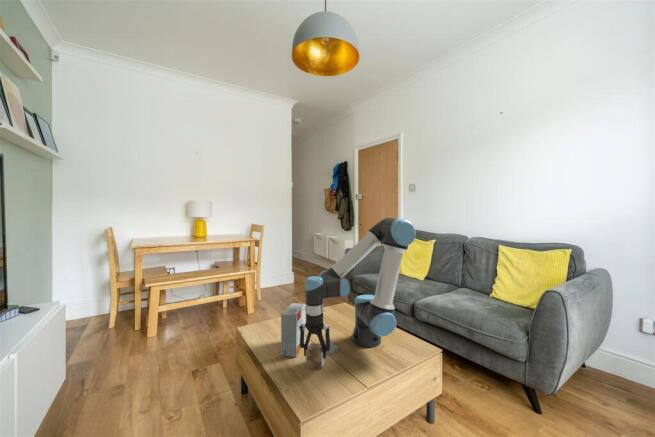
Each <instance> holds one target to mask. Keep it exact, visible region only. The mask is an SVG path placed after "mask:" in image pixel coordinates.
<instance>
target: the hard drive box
mask: <svg viewBox="0 0 655 437" xmlns="http://www.w3.org/2000/svg"><path fill="white" fill-rule="evenodd" d="M280 322H281V324H280V330H281V331H280V355H281V356H282V357H290V358H291V357H293V358H297V356H298V355H299V353H300V352H301V350H302V348H300V328H299V327H300V325H301V324H306V303H298V302H297V303H296V302H291V303H290V304H289V306H288V307H286V309H285V310H284V311H283V312H282V313H281V314H280ZM305 342H306V333H305V334H304V343H305Z"/></svg>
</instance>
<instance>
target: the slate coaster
mask: <svg viewBox="0 0 655 437" xmlns="http://www.w3.org/2000/svg"><path fill="white" fill-rule="evenodd" d="M325 345H326V343H325ZM337 352H339V347H338V346H337V344H334V343H331V342H330V350H329V351H326V355H333V354H336V353H337Z"/></svg>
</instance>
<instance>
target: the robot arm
mask: <svg viewBox="0 0 655 437" xmlns="http://www.w3.org/2000/svg"><path fill="white" fill-rule="evenodd" d="M416 234H417V232H416V229H415V226H414V224H413V223H412V222H411V221H409V220H406V219H404V218H393V217H386V218H383V219H381V220H379V221H378V222H376V223H375V224H374V225H373V226H372V227H371V228H370V229H368V230H367V231H366V235H365V236H363V238H361V239H360V241H358V242H357V243H356V244H354V245H353V247H351V249H350V250H348V252H346V253H344V255H343V256H342V257H341V258H340V259H338V260H337V261H336V262H335V263H334V264H333V265H331V267H330V268H329V269H327V270H322V271H321V272H320V273H319V275H312V276H309V277H307V278H306V279H305V284H304V286H305V288H304V289H305V324H301V325H300V327H299V328H300V348H301V349H303V356H304V357H305V361H306V362H305V363H306V364H305V365H306V366H307V356H306V350H307V348H308V346H309V345H310V344H309V343H310V339H311V336H312V335H315V336H317V338H318V340H319V344H320V345H321V348H322V351H321V368H323V367H324V365H325V359H326V357H327V354H326V351H329V350H330V343H331V339H330V336H331V335H330V330H331V326H328V325H327V326H326V325H325V323H324V299H331V298H342V297H347V296H349V294H350V292H351V291H350V290H351V287H350V286H351V285H350V283H349V281H348V279H347V278H344V277H345V276H346V275H347V274H348V273H349V272H350V271H351V270H352V269H354V267H356V265H357V264H358V263H360V262H361V261H362V260H363V259H364V258H365V257H366V256H368V255H369V254H370V253H371V252H372V251H373V250H374V249H375V248H376V247H377V246H378V247H380V246H383V248H384V251H383V256H382V260H381V264H380V265H381V266H380V269H379V274H378V278H377V282H376V283H377V284H376V286H375V287H376V288H375V291H374V295H373V294H361V295H358V296H356V297H355V300H354V314H355V315H354V319H355V320H354V322H355V323H354V327H353V330H352V332H351V340H352V342H353V343H354V345H356V346H359V347H362V348H363V347H364V348H374V347H377V346H379V345H380V344H381V343H382V337H387V336H389V335H390V334H392V333H393V332H394V331H395V330H396V327H397V319H396V316H395V315H394V314H395V305H394V304H393V301H394V297H395V293H396V288H397V283H398V279H399V273H400V269H401V265H402V260H403V255H404V253H405V252H406V251H408V250H409V246H410V245H411V244H412V243H414V241H415V239H416ZM306 330H307V335H306ZM323 330H324V331H323ZM323 332H325V333H324V334H325V338H324V336H323ZM304 334H305V335H306V338H305V342H304ZM325 344H326V345H325Z"/></svg>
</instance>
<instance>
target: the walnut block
mask: <svg viewBox="0 0 655 437" xmlns="http://www.w3.org/2000/svg"><path fill="white" fill-rule="evenodd" d="M309 343H310V344H308V348H307V350H306V356H307V365H306V369H311V370H317V371H321V368H322V367H321V351H322V348H321V345H320V343H313V342H309ZM306 356H305V357H306Z"/></svg>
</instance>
